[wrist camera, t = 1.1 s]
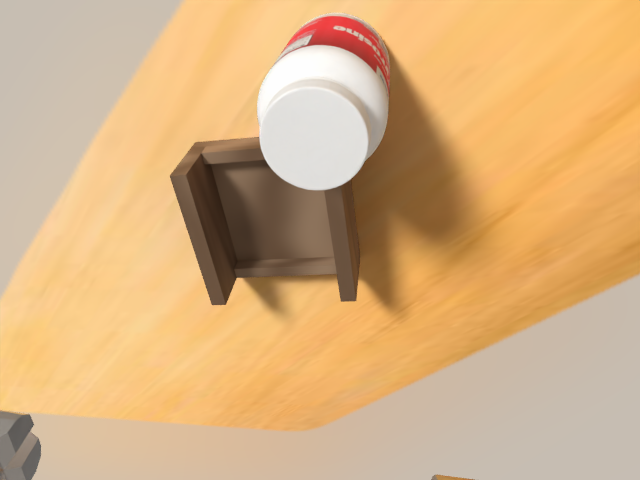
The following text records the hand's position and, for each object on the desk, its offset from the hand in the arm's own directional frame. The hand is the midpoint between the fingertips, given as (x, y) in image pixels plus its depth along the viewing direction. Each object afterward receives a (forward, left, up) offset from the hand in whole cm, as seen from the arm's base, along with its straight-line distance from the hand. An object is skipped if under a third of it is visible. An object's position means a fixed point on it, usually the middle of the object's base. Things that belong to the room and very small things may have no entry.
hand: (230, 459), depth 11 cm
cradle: (+5, +8, -25) cm, 27 cm away
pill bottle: (0, -1, -26) cm, 26 cm away
